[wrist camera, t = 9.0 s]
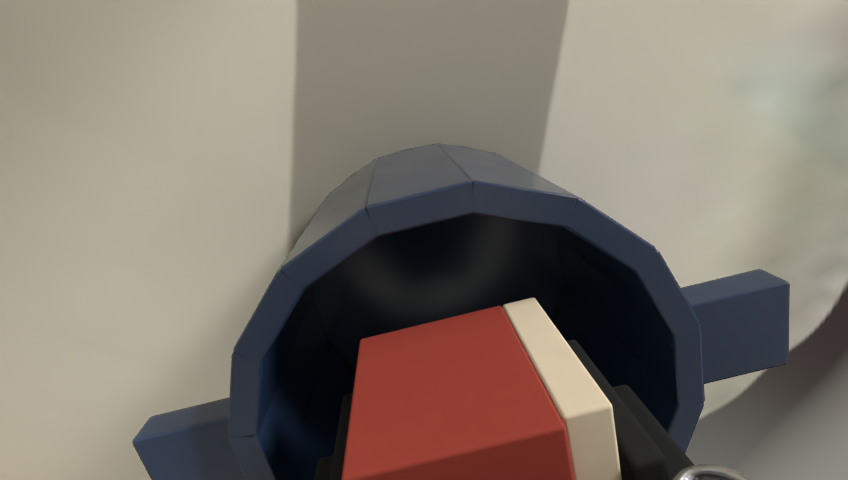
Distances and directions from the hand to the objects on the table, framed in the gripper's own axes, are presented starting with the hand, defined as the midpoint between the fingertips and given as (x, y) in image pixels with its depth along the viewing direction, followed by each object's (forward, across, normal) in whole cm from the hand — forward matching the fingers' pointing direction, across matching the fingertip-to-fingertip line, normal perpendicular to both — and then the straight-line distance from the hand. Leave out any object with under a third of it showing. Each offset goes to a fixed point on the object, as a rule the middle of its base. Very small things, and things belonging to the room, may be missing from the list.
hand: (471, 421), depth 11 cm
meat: (0, 0, 0) cm, 0 cm away
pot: (+8, 0, 0) cm, 8 cm away
